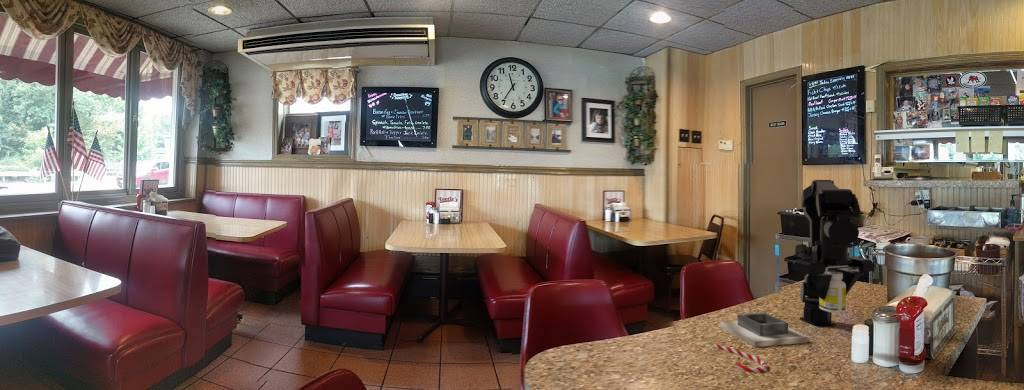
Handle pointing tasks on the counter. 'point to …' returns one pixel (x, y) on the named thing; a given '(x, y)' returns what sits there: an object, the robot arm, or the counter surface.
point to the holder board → (763, 330)
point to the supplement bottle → (834, 294)
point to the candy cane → (749, 369)
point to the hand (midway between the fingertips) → (832, 298)
